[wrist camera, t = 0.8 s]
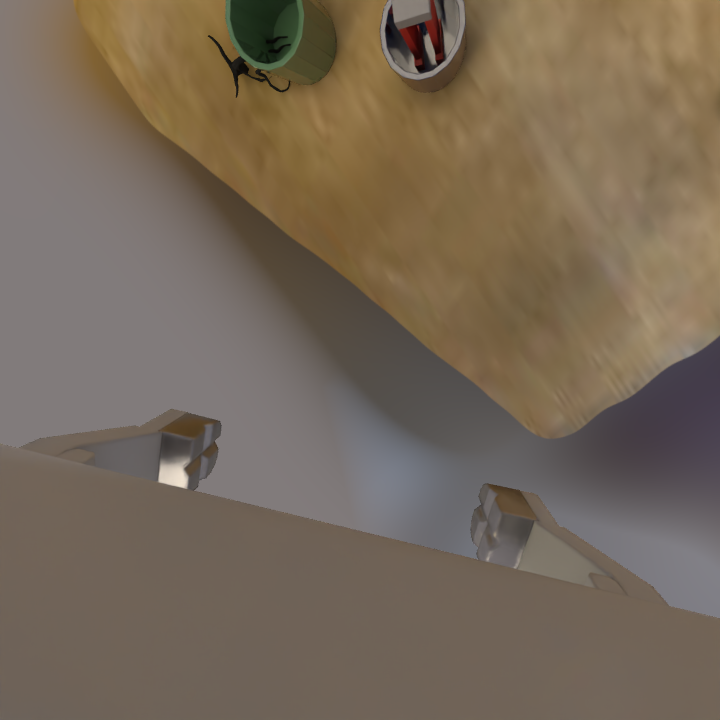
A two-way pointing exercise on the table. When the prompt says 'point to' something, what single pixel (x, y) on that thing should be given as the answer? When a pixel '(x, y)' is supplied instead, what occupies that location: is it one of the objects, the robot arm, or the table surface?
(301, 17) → the green cup
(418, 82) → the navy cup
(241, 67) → the creature
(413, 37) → the tongs
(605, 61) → the table surface
